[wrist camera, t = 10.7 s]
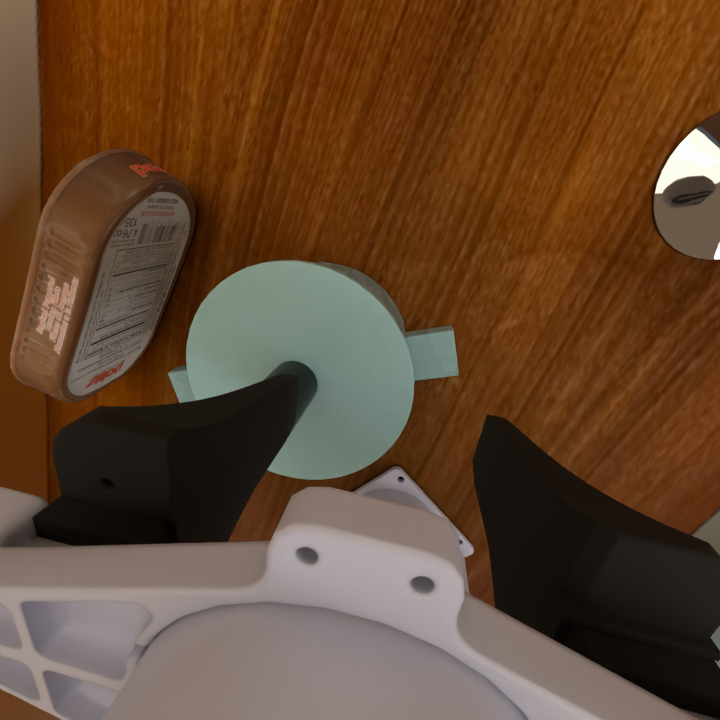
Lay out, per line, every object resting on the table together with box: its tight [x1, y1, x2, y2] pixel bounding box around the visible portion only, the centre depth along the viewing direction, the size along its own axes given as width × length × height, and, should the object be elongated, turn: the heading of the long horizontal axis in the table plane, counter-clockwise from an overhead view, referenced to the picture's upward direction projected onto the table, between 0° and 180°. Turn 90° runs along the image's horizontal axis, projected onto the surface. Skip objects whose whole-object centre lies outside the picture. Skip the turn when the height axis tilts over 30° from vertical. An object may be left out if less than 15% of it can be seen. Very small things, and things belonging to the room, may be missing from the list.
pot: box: [168, 262, 459, 403], centre depth 21 cm, size 11×16×6 cm
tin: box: [10, 149, 196, 403], centre depth 20 cm, size 15×3×8 cm, turn 149°
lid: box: [186, 260, 414, 480], centre depth 17 cm, size 12×12×5 cm
